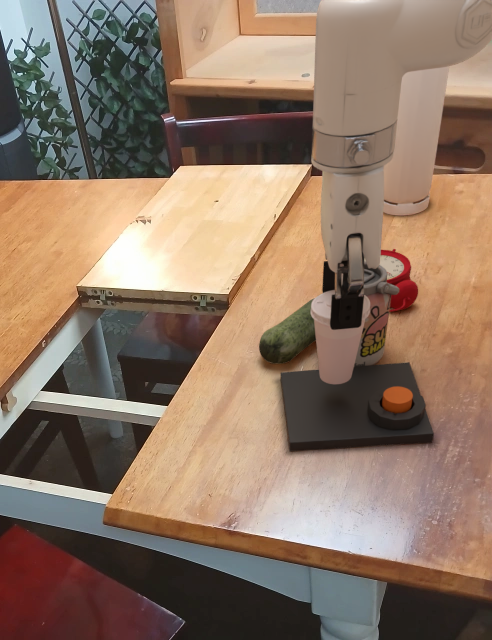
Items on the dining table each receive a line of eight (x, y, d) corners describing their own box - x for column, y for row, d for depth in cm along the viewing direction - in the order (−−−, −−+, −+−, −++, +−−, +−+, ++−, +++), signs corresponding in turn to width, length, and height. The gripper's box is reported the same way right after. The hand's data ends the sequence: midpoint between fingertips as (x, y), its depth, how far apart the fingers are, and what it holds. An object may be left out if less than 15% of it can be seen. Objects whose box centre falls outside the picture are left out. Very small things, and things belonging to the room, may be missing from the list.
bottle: (427, 192, 126) (455, 1, 106) (430, 214, 121) (460, 16, 101) (377, 195, 128) (396, 8, 108) (378, 216, 123) (398, 23, 103)
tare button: (408, 395, 86) (409, 385, 85) (413, 412, 84) (415, 402, 83) (379, 398, 87) (381, 387, 86) (384, 414, 85) (385, 404, 83)
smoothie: (350, 354, 90) (359, 247, 80) (372, 383, 86) (385, 273, 76) (300, 366, 90) (303, 261, 80) (319, 396, 85) (325, 288, 76)
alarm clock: (405, 242, 108) (431, 270, 96) (402, 284, 112) (427, 316, 99) (333, 250, 110) (349, 279, 98) (332, 292, 114) (348, 324, 101)
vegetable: (282, 376, 97) (283, 344, 93) (251, 363, 100) (251, 331, 96) (345, 327, 102) (347, 295, 99) (313, 316, 105) (315, 284, 102)
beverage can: (349, 328, 102) (356, 247, 93) (402, 349, 97) (415, 265, 88) (306, 359, 99) (309, 278, 90) (358, 382, 93) (366, 298, 85)
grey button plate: (408, 370, 93) (411, 351, 91) (432, 442, 84) (436, 422, 82) (280, 380, 96) (280, 361, 94) (289, 451, 87) (289, 432, 84)
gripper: (413, 173, 62) (390, 351, 75) (378, 105, 74) (363, 268, 87) (322, 185, 64) (314, 357, 76) (303, 115, 75) (299, 274, 88)
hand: (340, 308), depth 81 cm, fingers closed on smoothie, 6 cm apart
